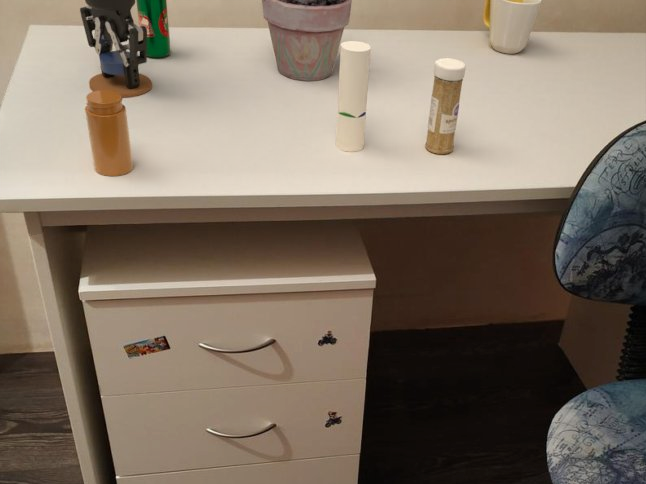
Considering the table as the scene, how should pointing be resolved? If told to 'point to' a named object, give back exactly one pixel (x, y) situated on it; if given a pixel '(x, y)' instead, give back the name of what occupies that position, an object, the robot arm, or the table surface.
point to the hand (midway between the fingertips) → (120, 81)
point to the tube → (352, 95)
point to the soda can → (155, 26)
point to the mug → (510, 23)
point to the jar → (108, 133)
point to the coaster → (120, 85)
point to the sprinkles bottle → (444, 105)
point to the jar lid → (112, 63)
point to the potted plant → (306, 35)
